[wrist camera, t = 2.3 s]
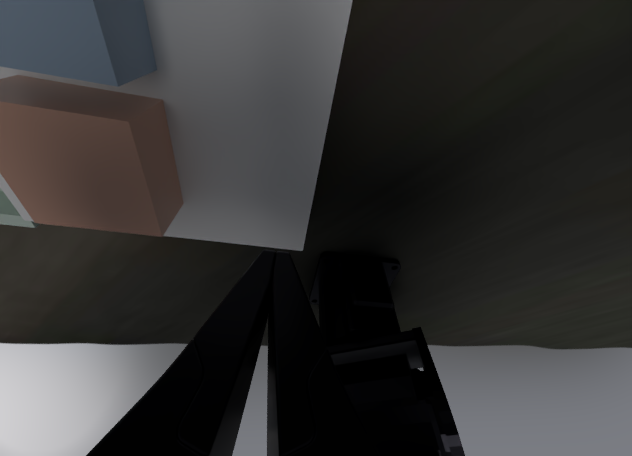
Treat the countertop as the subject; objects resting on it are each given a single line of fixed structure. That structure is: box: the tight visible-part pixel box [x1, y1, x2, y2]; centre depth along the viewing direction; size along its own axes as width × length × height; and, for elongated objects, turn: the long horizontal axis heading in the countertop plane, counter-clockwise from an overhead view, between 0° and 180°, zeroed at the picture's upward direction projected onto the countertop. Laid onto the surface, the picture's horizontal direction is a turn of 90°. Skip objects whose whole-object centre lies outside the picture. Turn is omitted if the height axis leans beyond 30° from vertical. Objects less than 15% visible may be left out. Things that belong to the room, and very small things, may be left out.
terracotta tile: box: [0, 75, 184, 237], centre depth 10 cm, size 5×5×2 cm
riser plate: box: [0, 0, 352, 251], centre depth 11 cm, size 14×15×3 cm
